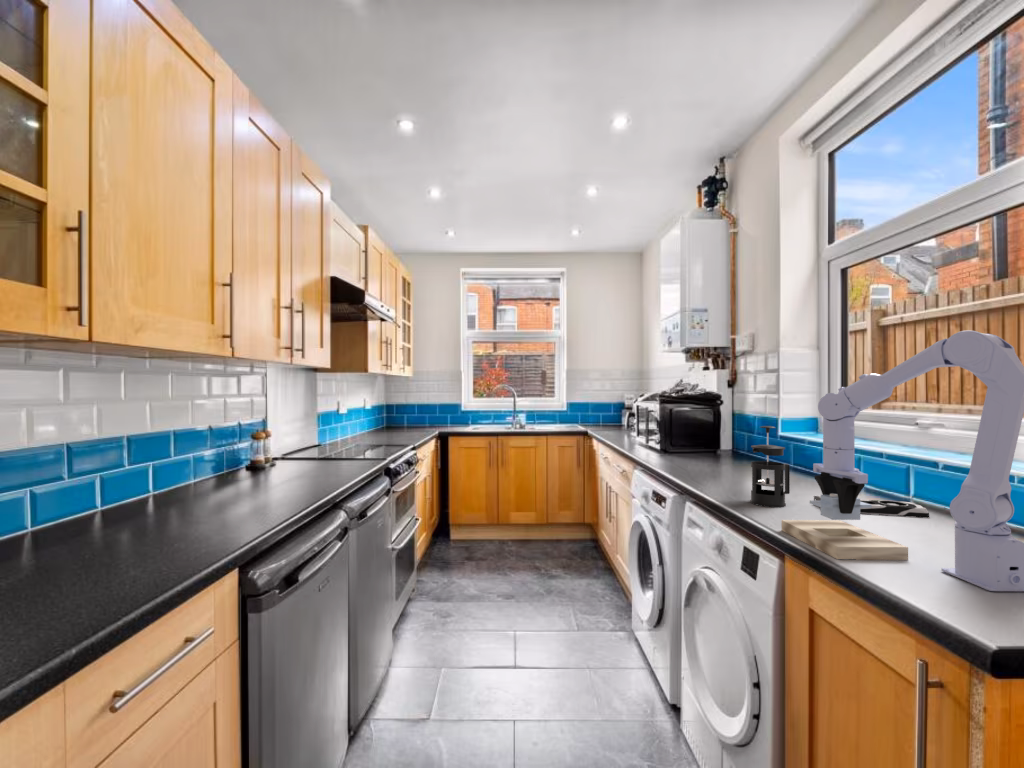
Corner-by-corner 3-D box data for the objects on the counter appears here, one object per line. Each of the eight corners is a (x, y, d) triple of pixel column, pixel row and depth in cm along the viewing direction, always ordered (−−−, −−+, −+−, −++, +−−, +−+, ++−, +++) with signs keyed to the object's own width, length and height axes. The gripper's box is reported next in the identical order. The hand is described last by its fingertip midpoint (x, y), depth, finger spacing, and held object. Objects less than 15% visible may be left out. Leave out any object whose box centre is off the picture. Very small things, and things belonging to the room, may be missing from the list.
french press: (760, 507, 139) (760, 427, 139) (741, 500, 148) (741, 425, 149) (798, 507, 140) (798, 427, 141) (777, 499, 150) (777, 425, 150)
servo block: (871, 519, 105) (871, 496, 105) (821, 519, 104) (821, 496, 104) (858, 515, 109) (858, 492, 109) (809, 514, 108) (809, 492, 108)
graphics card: (813, 495, 144) (912, 499, 138) (813, 506, 144) (912, 511, 138) (826, 502, 134) (933, 508, 128) (826, 515, 134) (933, 521, 128)
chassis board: (908, 559, 96) (908, 547, 96) (837, 559, 96) (837, 546, 96) (839, 530, 116) (839, 520, 116) (781, 530, 116) (781, 520, 116)
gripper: (882, 452, 99) (882, 519, 99) (834, 444, 114) (834, 502, 114) (848, 452, 99) (848, 519, 99) (804, 444, 114) (804, 502, 114)
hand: (838, 510), depth 106 cm, fingers closed on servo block, 4 cm apart
